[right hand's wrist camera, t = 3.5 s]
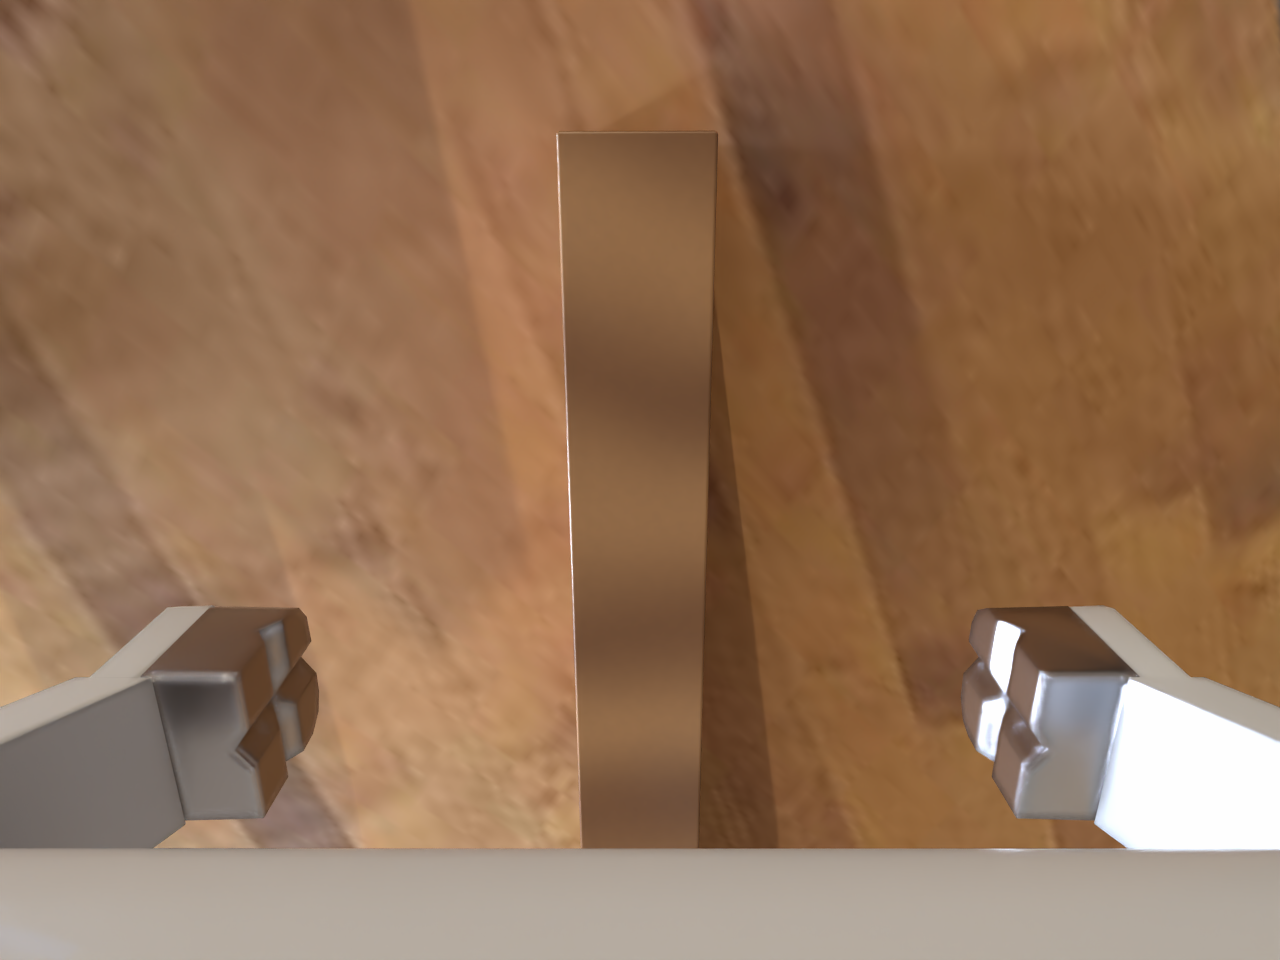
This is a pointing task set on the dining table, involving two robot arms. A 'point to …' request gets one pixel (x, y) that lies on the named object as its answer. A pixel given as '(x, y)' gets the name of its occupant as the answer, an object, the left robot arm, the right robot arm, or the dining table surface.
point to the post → (638, 470)
